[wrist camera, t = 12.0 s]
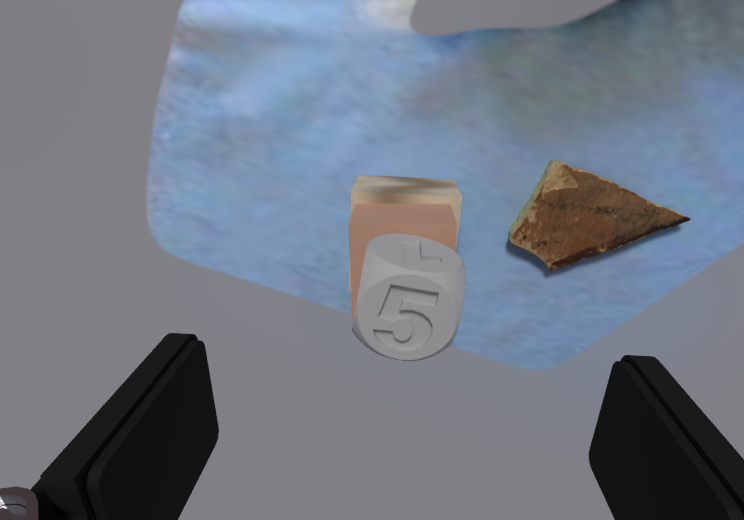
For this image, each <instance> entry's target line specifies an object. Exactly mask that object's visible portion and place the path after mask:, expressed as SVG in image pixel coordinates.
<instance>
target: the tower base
mask: <svg viewBox="0 0 744 520" xmlns="http://www.w3.org/2000/svg"><path fill="white" fill-rule="evenodd" d="M355 204H450V205H451V208H452V210H453V213H454V216H455V219H456V222H457V238H458V230H459V222H460V214H461V206H462V196H461V194H460V191H459V189H458V187H457V185H456V183H455V181H454V180H445V179H427V178H409V177H391V176H373V175H358V177H357V179H356V181H355V184H354V186H353V189H352V191H351V215H352V212H353V210H354V207H355ZM457 238H456V245H457ZM349 290H351V272H350V270H349Z"/></svg>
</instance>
